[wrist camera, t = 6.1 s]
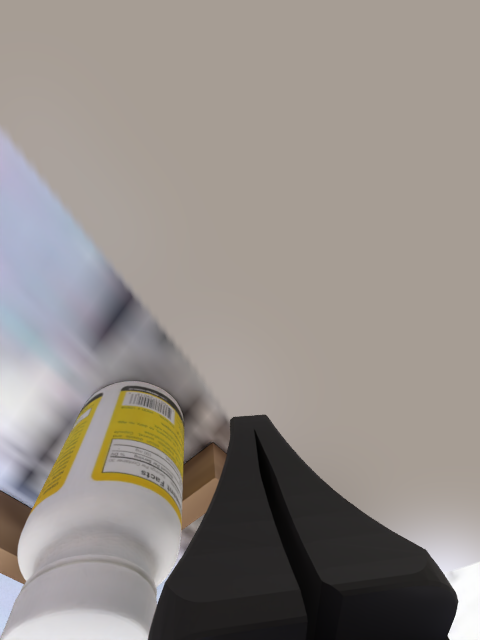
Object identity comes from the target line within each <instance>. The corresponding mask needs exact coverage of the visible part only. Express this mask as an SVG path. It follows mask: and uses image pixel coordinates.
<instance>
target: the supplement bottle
mask: <svg viewBox="0 0 480 640" xmlns="http://www.w3.org/2000/svg"><path fill="white" fill-rule="evenodd" d="M183 459H184V419H183V414H182V411H181V409H180V407H179V405H178V403H177V402H176V400H175V399H174V398H173V397H172V396H171V395H170V394H169V393H167V392H166V391H165V390H163V389H161V388H159V387H157V386H155V385H152V384H149V383H145V382H139V381H126V382H119V383H115V384H112V385H109V386H107V387H104V388H103V389H101V390H99V391H98V392H96V393H95V394H94V395H93V396H92V397H91V398H90V399H89V400H88V401H87V402H86V404H85V405H84V407H83V409H82V410H81V412H80V414H79V416H78V418H77V420H76V422H75V424H74V426H73V428H72V430H71V432H70V434H69V436H68V438H67V440H66V442H65V444H64V446H63V448H62V450H61V452H60V454H59V456H58V458H57V460H56V462H55V464H54V466H53V468H52V470H51V472H50V474H49V476H48V478H47V480H46V482H45V484H44V486H43V489H42V490H41V492H40V494H39V496H38V498H37V501H36V502H35V504H34V506H33V508H32V510H31V512H30V514H29V517H28V519H27V521H26V524H25V526H24V528H23V530H22V533H21V536H20V539H19V544H18V553H17V554H18V564H19V568H20V571H21V573H22V575H23V577H24V579H25V580H26V582H25V584H24V586H23V587H22V590H21V592H20V594H19V595H18V597H17V598H16V600H15V603H14V605H13V608H12V611H11V613H10V616H9V618H8V621H7V623H6V626H5V628H4V631H3V633H2V635H1V638H0V640H148V636H149V631H150V627H151V623H152V620H153V616H154V613H155V610H156V607H157V601H156V596H157V589H156V588H157V587H158V586H159V585H160V584H161V583H162V582H163V581H164V580H165V578H166V577H167V576H168V575H169V573H170V572H171V570H172V568H173V566H174V564H175V562H176V560H177V557H178V553H179V549H180V541H181V529H182V492H183Z"/></svg>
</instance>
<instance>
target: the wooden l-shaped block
mask: <svg viewBox="0 0 480 640" xmlns="http://www.w3.org/2000/svg"><path fill="white" fill-rule="evenodd" d="M226 456H227V454H226V453H225V452H223V451H222V450H221V449H220V448H219V447H218V446H216V445H215V444H214V443H212V444H210V445H209V446H208V447H206V448H205V449H204V450H202V451H201V452H200V453H198V454H197V455H196V456H195V457H193V458H192V459H191V460H189V461H188V462H187V463H185V464H184V465H183V492H182V529H181V530H183V529H184V528H185V527H187V526H188V525H190V524H191V523H192V522H194V521H195V520H197V519H198V518H199V517H201V516H202V515H203V514H205V513H206V511H207V509H208V507H209V505H210V503H211V500H212V498H213V495H214V493H215V490H216V488H217V485H218V482H219V479H220V476H221V473H222V470H223V467H224V463H225V460H226ZM31 510H32V509H31V508H29V507H27V506H26V505H24V504H22V503H20V502H19V501H17V500H15V499H14V498H12V497H10V496H8V495H7V494H5V493H3V492H1V491H0V573H2V574H4V575H6V576H8V577H10V578H12V579H14V580H16V581H18V582H20V583H23V584H25V582H26V580H25V579H24V577H23V575H22V573H21V571H20V568H19V564H18V554H17V553H18V544H19V539H20V536H21V533H22V530H23V528H24V526H25V524H26V521H27V519H28V517H29V514H30V512H31Z"/></svg>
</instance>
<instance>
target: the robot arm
mask: <svg viewBox="0 0 480 640" xmlns="http://www.w3.org/2000/svg"><path fill="white" fill-rule="evenodd" d="M457 605H458V599H457V595H456V592H455V591H454V589H453V588H452V586H451V585H450V583H449V581H448V580H447V578H446V577H445V575H444V574H443V572H442V571H441V569H440V568H439V566H438V565H437V564H436V563H435V561H434V560H433V559H432V558H431V556H430V555H429V553H428V552H427V551H426V550H425V549H423V548H422V547H420V546H418V545H416V544H414V543H413V542H411V541H409V540H407V539H405V538H403V537H402V536H400V535H398V534H396V533H395V532H393V531H391V530H389V529H388V528H386V527H385V526H383V525H382V524H380V523H378V522H377V521H375V520H374V519H372V518H371V517H369V516H368V515H366V514H365V513H363V512H362V511H361V510H359V509H358V508H357V507H355V506H354V505H353V504H351V503H350V502H348V501H347V500H346V499H344V498H343V497H342V496H341V495H339V494H338V493H337V492H336V491H334V490H333V489H332V488H331V487H330V486H329V485H328V484H326V483H325V482H324V481H323V480H322V479H321V478H320V477H319V476H318V475H317V474H316V473H315V472H314V471H312V469H311V468H310V467H309V466H308V465H307V464H306V463H305V462H304V461H303V460H302V459H301V458H300V457H299V456H298V455H297V454H296V452H295V451H294V450H293V449H292V448H291V447H290V445H289V444H288V443H287V442H286V441H285V439H284V438H283V437H282V436H281V434H280V433H279V432H278V430H277V429H276V428H275V426H274V425H273V424H272V422H271V421H270V419H269V418H268V417H267V416H266V415H255V416H241V417H233V418H232V419H231V420H230V442H229V447H228V451H227V456H226V460H225V463H224V467H223V470H222V473H221V476H220V479H219V482H218V485H217V488H216V490H215V493H214V495H213V498H212V500H211V503H210V505H209V507H208V509H207V511H206V514H205V516H204V518H203V520H202V522H201V524H200V526H199V528H198V530H197V531H196V533H195V535H194V537H193V539H192V540H191V542H190V544H189V546H188V548H187V549H186V551H185V553H184V554H183V556H182V558H181V559H180V561H179V562H178V564H177V565H176V567H175V568H174V570H173V571H172V573H171V575H170V576H169V578H168V579H167V581H166V582H165V584H164V587H163V590H162V593H161V596H160V598H159V601H158V604H157V607H156V610H155V613H154V616H153V620H152V623H151V627H150V631H149V636H148V640H449V638H448V633H449V630H450V628H451V625H452V623H453V620H454V617H455V615H456V610H457Z"/></svg>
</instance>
